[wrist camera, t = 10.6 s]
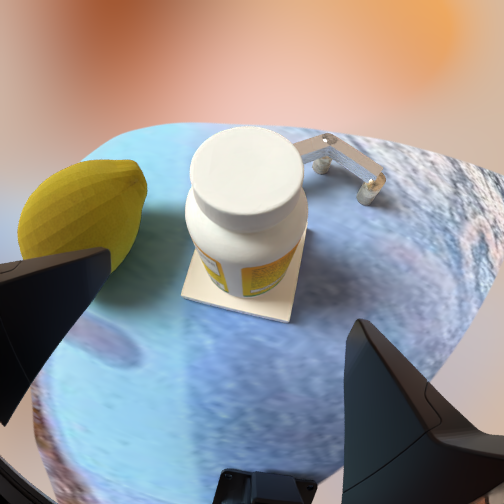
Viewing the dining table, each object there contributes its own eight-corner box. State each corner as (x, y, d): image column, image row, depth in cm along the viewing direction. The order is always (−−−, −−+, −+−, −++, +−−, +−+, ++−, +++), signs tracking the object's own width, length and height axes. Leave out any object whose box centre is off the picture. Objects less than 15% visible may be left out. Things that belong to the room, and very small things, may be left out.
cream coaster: (287, 323, 18) (289, 321, 17) (184, 298, 18) (180, 295, 17) (305, 228, 20) (307, 221, 19) (212, 208, 21) (211, 201, 20)
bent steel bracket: (371, 217, 20) (389, 193, 17) (262, 192, 21) (264, 162, 18) (371, 175, 22) (386, 149, 19) (273, 151, 23) (276, 121, 19)
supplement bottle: (195, 287, 17) (143, 214, 8) (219, 214, 19) (199, 106, 10) (278, 308, 17) (311, 253, 8) (295, 232, 19) (329, 129, 10)
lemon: (63, 318, 17) (-9, 292, 10) (51, 235, 20) (-4, 189, 12) (182, 263, 19) (144, 205, 12) (153, 182, 22) (120, 112, 14)
